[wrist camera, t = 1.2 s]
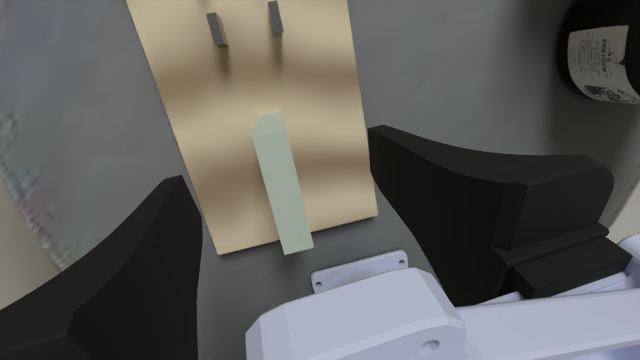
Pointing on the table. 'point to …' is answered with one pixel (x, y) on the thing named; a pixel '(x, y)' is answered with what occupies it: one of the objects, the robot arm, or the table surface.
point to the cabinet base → (261, 108)
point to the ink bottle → (602, 50)
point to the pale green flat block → (281, 182)
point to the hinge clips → (219, 32)
